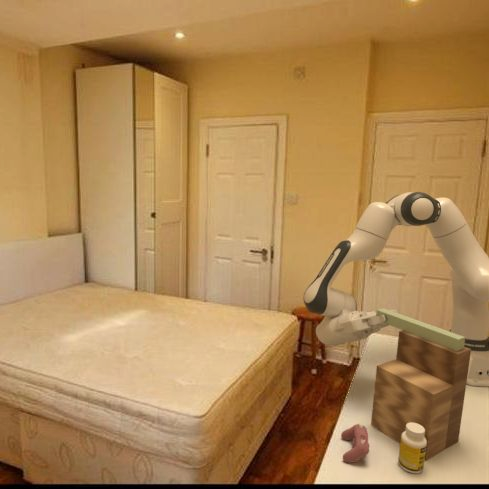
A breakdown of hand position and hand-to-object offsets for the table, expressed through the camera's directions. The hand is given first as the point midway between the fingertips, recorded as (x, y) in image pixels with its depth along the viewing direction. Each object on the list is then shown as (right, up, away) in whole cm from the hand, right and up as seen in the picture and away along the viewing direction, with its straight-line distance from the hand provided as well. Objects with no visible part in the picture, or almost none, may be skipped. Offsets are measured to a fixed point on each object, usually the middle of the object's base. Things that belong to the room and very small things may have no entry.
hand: (390, 316), depth 113 cm
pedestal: (+3, -29, -9) cm, 30 cm away
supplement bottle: (-3, -31, -21) cm, 37 cm away
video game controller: (-15, -30, -16) cm, 37 cm away
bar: (+4, -3, -6) cm, 8 cm away
